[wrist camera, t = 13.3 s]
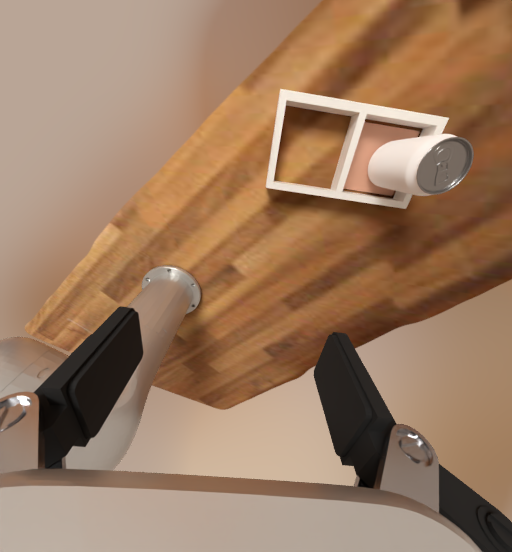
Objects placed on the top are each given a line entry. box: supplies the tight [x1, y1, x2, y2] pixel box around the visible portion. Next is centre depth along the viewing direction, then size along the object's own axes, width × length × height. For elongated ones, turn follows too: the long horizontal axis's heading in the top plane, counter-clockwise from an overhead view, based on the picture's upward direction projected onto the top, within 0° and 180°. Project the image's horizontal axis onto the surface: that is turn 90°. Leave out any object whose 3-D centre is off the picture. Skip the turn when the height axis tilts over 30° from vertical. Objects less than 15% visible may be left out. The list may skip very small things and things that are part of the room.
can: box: [368, 134, 474, 196], centre depth 28 cm, size 6×6×12 cm
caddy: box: [266, 89, 449, 209], centre depth 32 cm, size 12×23×3 cm, turn 82°
